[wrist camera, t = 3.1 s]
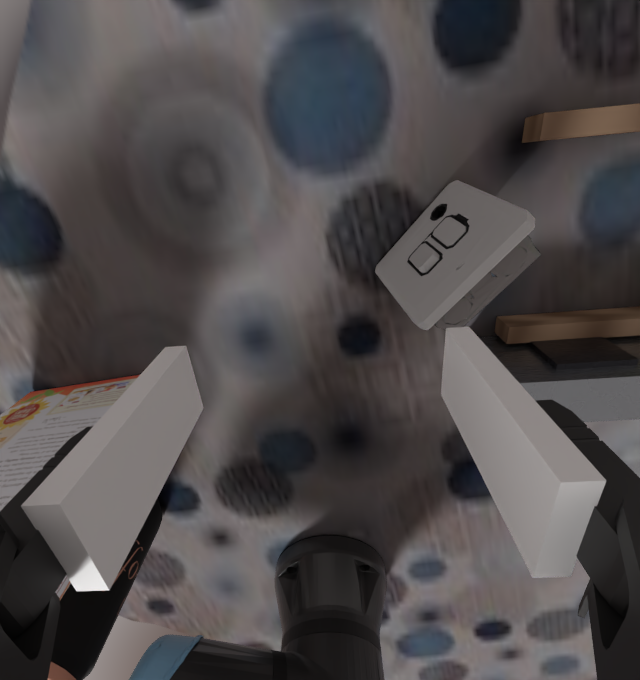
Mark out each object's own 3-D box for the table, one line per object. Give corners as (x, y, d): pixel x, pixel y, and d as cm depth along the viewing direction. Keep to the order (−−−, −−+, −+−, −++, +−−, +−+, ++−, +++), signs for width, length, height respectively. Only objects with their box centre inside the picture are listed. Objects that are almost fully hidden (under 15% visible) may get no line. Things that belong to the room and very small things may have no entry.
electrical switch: (452, 176, 28) (516, 191, 19) (492, 219, 29) (567, 249, 21) (371, 268, 31) (397, 314, 23) (412, 301, 33) (449, 355, 25)
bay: (494, 332, 33) (514, 352, 30) (525, 117, 26) (557, 109, 22) (657, 321, 32) (698, 340, 29) (738, 96, 25) (807, 84, 21)
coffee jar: (175, 529, 46) (94, 722, 30) (97, 532, 47) (-24, 723, 31) (152, 469, 42) (41, 659, 26) (66, 473, 42) (-97, 662, 26)
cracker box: (58, 433, 40) (-186, 673, 21) (30, 388, 37) (-277, 616, 18) (176, 417, 38) (31, 657, 19) (156, 370, 36) (-35, 594, 17)
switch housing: (457, 377, 35) (490, 430, 28) (462, 333, 33) (499, 378, 26) (623, 367, 34) (702, 419, 27) (639, 321, 32) (728, 365, 25)
